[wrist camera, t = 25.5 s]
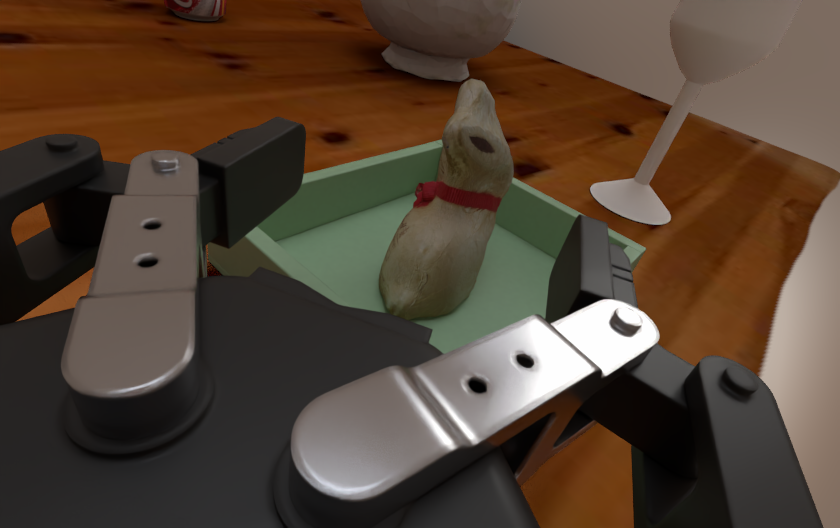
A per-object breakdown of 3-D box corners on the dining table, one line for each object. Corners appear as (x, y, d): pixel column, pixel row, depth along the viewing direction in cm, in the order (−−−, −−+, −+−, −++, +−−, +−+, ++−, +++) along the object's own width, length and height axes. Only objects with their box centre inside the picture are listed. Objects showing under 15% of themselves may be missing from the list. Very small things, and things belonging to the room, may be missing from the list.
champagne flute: (666, 235, 34) (950, -216, 20) (581, 198, 36) (784, -233, 22) (675, 205, 39) (906, -173, 25) (599, 174, 41) (774, -190, 27)
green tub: (438, 488, 15) (464, 429, 13) (208, 261, 22) (202, 198, 20) (618, 295, 26) (647, 248, 24) (430, 183, 33) (441, 138, 31)
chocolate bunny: (519, 285, 25) (599, 100, 19) (403, 334, 20) (462, 108, 14) (452, 230, 28) (503, 56, 22) (338, 262, 23) (365, 52, 17)
